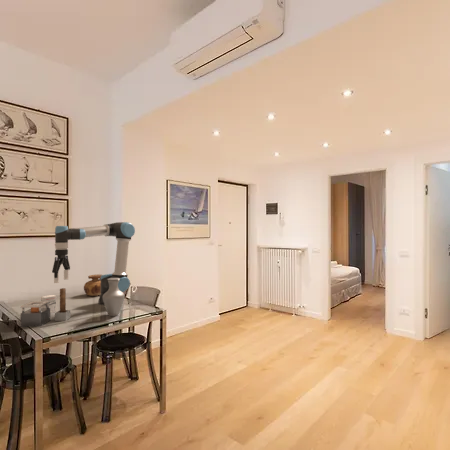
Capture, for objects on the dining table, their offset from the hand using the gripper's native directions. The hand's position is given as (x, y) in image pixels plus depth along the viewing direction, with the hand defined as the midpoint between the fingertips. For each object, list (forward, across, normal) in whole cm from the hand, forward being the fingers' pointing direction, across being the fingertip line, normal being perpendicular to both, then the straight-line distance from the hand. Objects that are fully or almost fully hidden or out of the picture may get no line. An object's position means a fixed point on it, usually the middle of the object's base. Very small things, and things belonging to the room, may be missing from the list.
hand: (61, 281), depth 209 cm
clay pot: (+25, -73, -4) cm, 77 cm away
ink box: (+25, -16, -16) cm, 34 cm away
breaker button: (+20, +9, -12) cm, 24 cm away
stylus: (+25, +1, +1) cm, 25 cm away
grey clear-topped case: (+25, +9, -12) cm, 29 cm away
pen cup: (+25, +1, +1) cm, 25 cm away
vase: (+25, -7, +32) cm, 41 cm away
